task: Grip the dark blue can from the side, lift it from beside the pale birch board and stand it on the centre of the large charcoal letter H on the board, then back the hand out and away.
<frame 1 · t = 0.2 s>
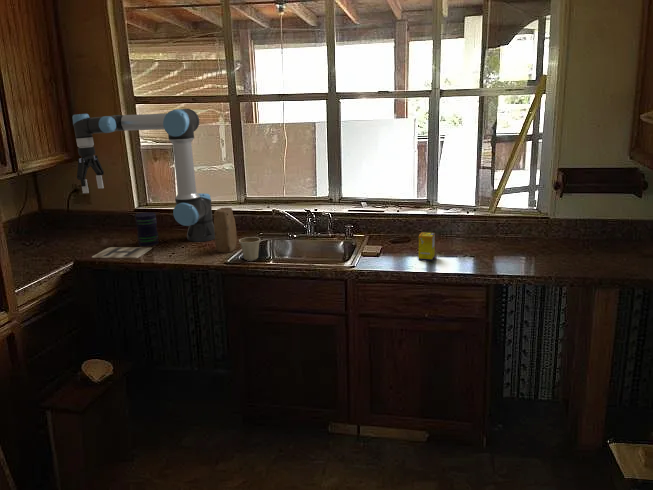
hand: (93, 190, 282), 27 cm above the worktop, tool pointing down, fingers open, 13 cm apart
supplement box: (426, 259, 247), on the worktop
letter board: (122, 253, 272), on the worktop
dark blue can: (148, 243, 288), on the worktop
block: (227, 250, 271), on the worktop
flower pot: (251, 258, 256), on the worktop
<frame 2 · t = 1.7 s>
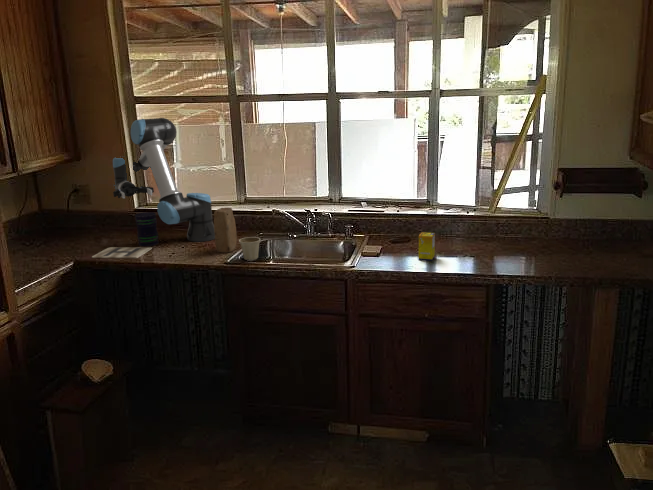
hand: (137, 194, 289), 24 cm above the worktop, tool horizontal, fingers open, 13 cm apart
nothing on the worktop moved.
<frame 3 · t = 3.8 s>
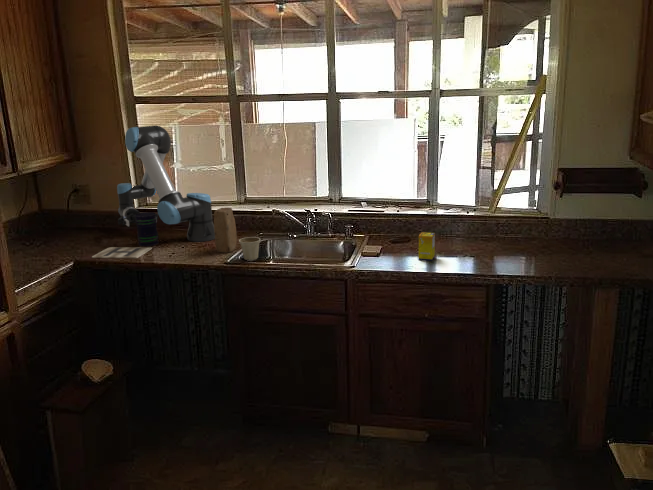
hand: (142, 221, 290), 10 cm above the worktop, tool horizontal, fingers open, 13 cm apart
nothing on the worktop moved.
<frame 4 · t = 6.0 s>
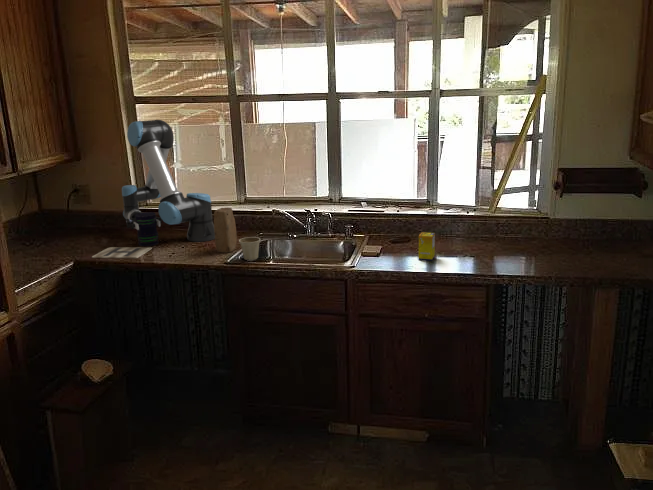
hand: (148, 225, 281), 10 cm above the worktop, tool horizontal, fingers closed on dark blue can, 10 cm apart
dark blue can: (148, 243, 288), on the worktop, touching gripper
everything else where it was.
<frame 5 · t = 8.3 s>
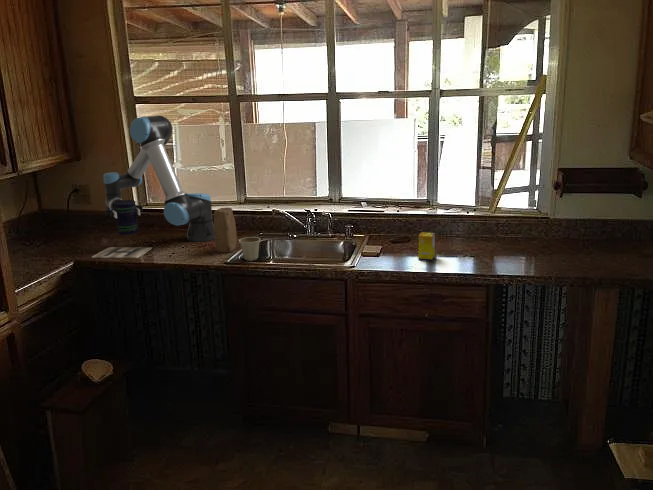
hand: (127, 213, 270), 18 cm above the worktop, tool horizontal, fingers closed on dark blue can, 10 cm apart
dark blue can: (128, 233, 277), point 8 cm above the worktop, touching gripper
everything else where it was.
when the fingers open (12 cm above the worktop, at t = 10.7 s): dark blue can drops 1 cm, resting on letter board.
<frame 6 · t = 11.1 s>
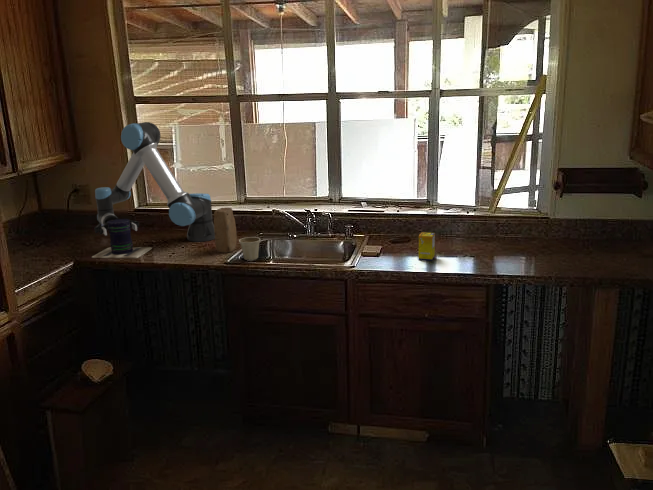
hand: (121, 230, 266), 12 cm above the worktop, tool horizontal, fingers open, 13 cm apart
dark blue can: (122, 252, 272), resting on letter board
everything else where it was.
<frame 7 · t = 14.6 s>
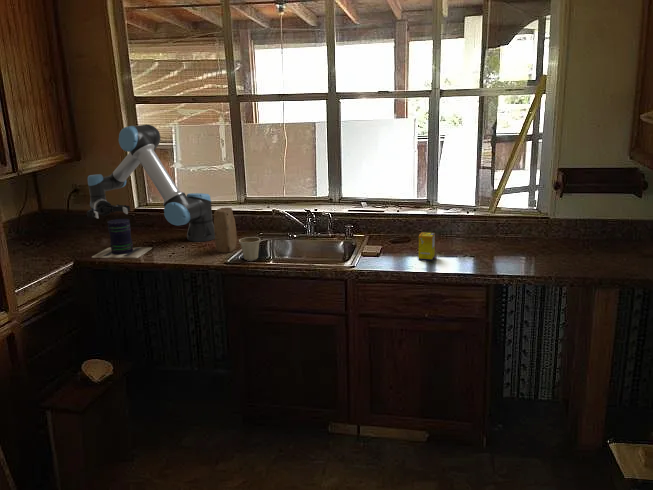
hand: (112, 213, 275), 17 cm above the worktop, tool horizontal, fingers open, 13 cm apart
nothing on the worktop moved.
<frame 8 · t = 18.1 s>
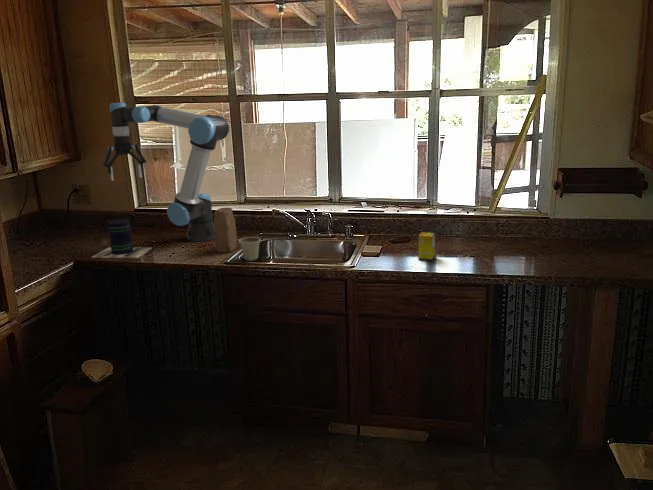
hand: (126, 178, 285), 32 cm above the worktop, tool pointing down, fingers open, 13 cm apart
nothing on the worktop moved.
at the end: dark blue can inside the target area on the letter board (0.2 cm from its centre), point 0.4 cm above the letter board's base; dark blue can tilted 0°; the gripper is holding nothing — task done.
